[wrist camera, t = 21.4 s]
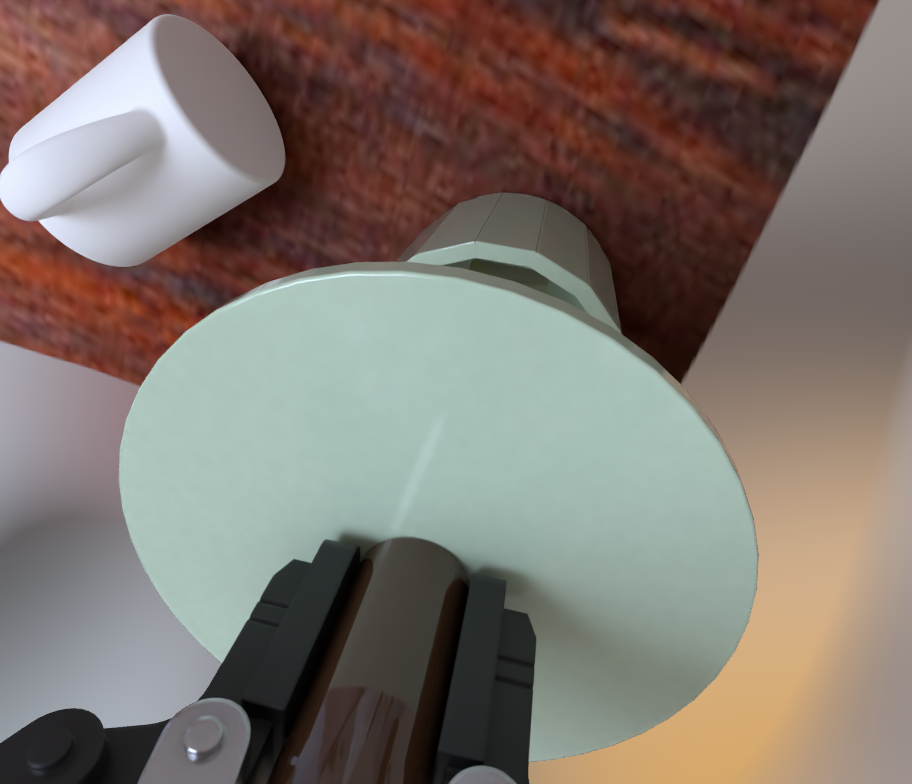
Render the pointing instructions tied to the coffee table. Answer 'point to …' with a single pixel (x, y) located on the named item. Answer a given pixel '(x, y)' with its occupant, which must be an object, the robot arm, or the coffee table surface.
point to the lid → (441, 504)
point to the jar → (524, 247)
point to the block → (512, 274)
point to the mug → (145, 147)
